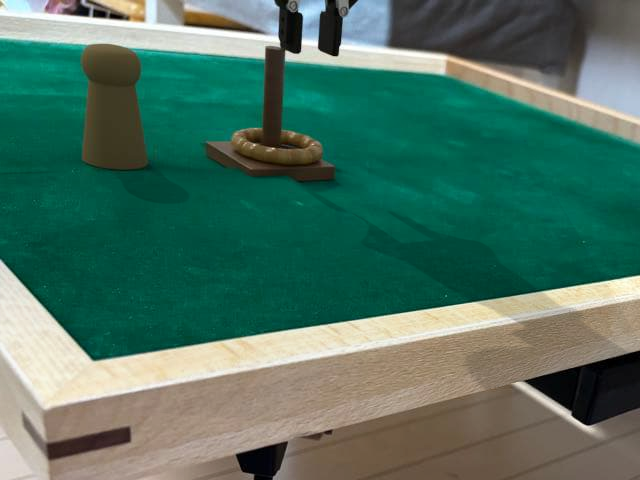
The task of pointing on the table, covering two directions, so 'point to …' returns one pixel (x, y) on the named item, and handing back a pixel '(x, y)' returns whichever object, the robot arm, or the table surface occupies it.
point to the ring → (304, 155)
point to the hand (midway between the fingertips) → (309, 50)
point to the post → (270, 132)
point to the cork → (112, 108)
